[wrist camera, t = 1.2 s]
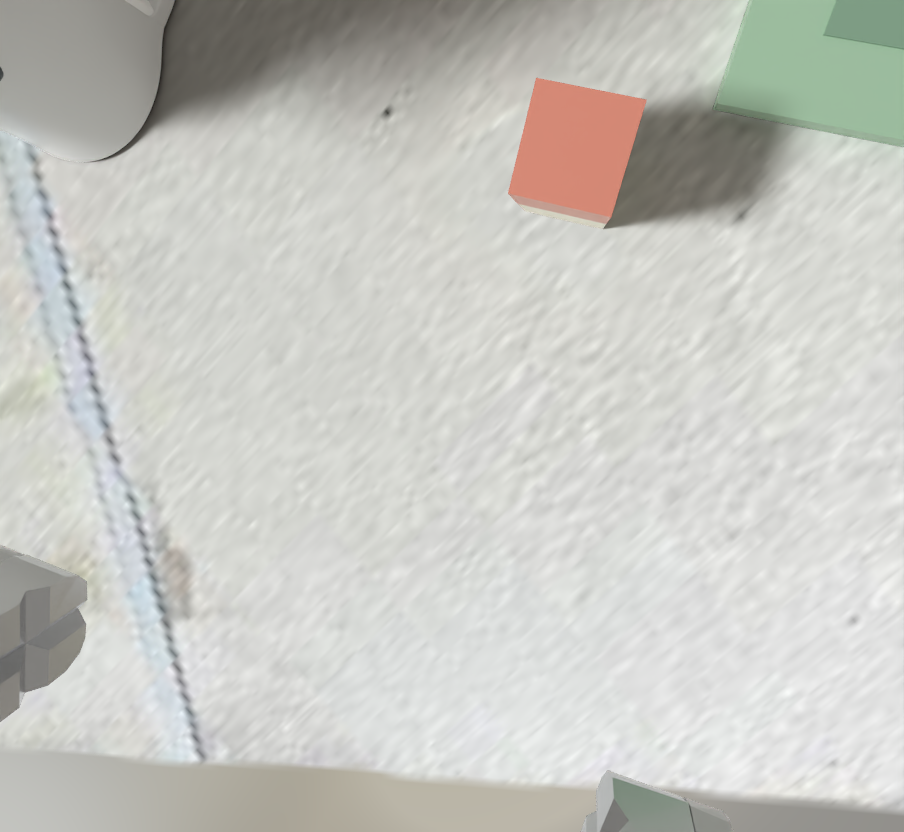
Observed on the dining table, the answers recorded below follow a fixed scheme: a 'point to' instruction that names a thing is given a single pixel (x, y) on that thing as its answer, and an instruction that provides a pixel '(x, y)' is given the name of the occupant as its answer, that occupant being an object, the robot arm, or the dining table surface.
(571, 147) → the pink and cream block
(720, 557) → the dining table surface
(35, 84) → the robot arm
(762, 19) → the baseplate
